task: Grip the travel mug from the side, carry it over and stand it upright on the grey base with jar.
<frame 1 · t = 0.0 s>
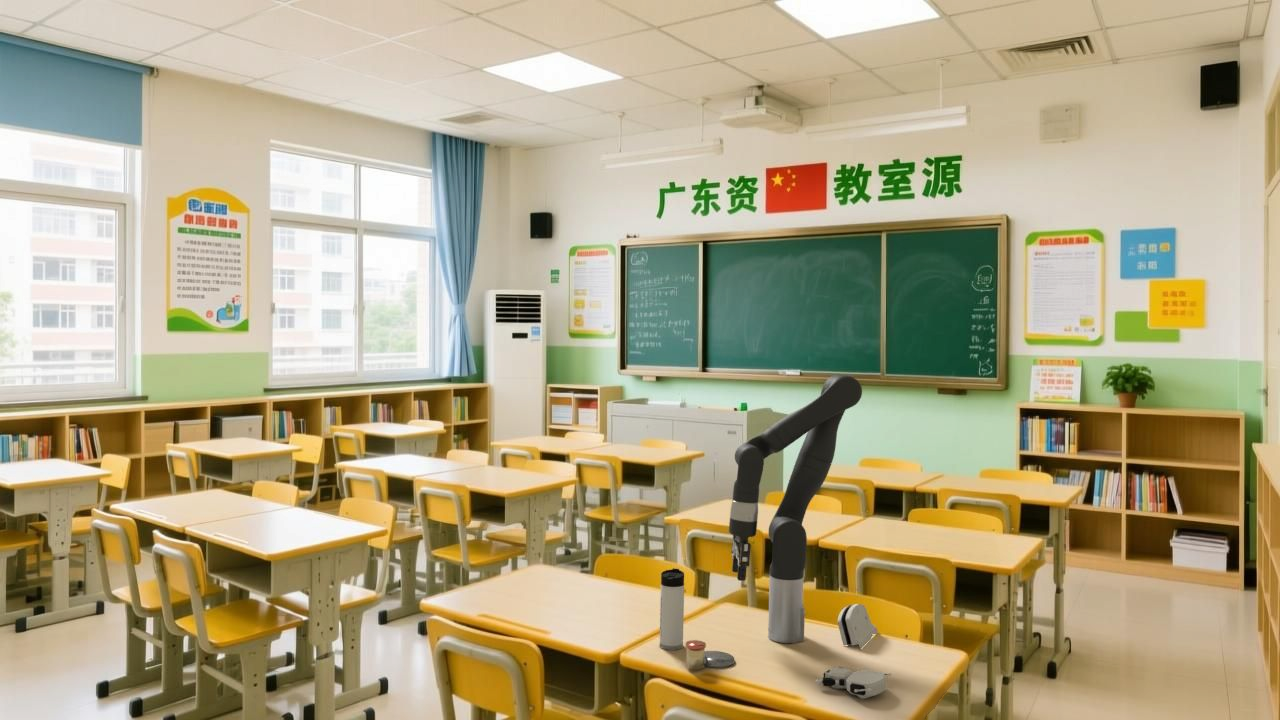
hand: (738, 576, 239), 17 cm above the table, tool pointing down, fingers open, 8 cm apart
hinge: (856, 639, 242), on the table
grey base with jar: (714, 660, 222), on the table
robot toy: (853, 692, 205), on the table
travel mug: (671, 646, 233), on the table
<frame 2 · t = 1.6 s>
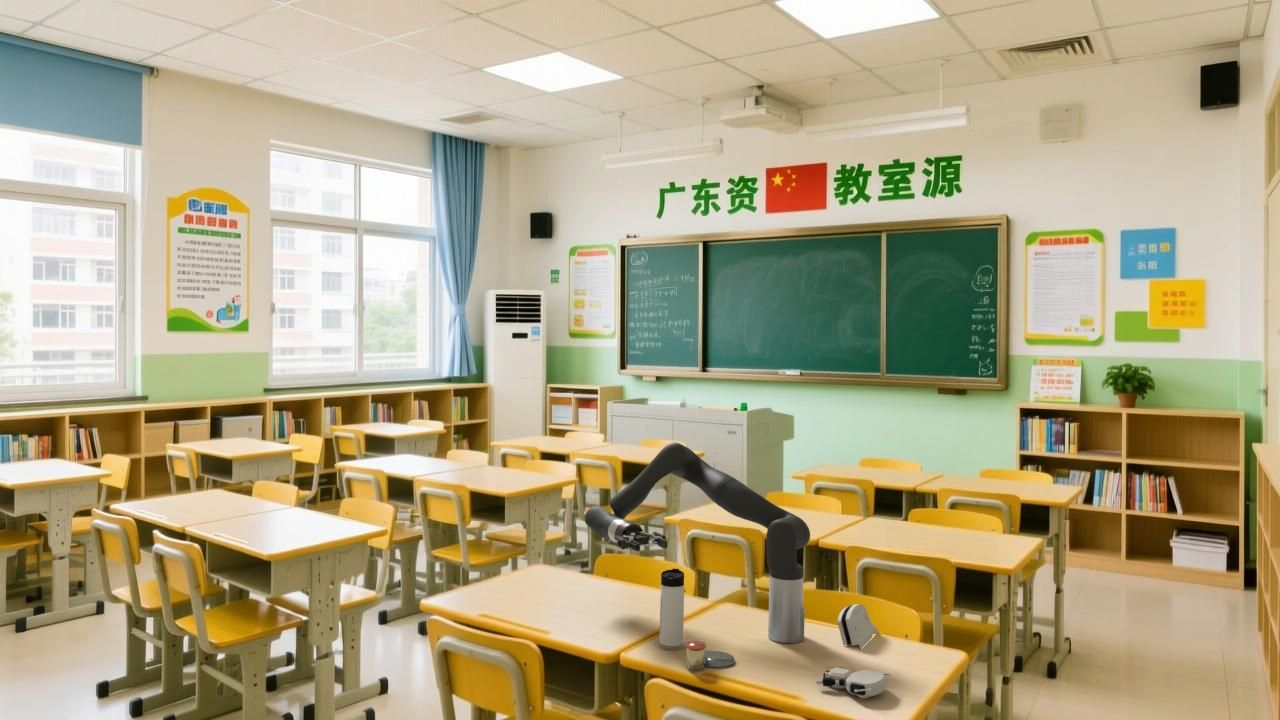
hand: (652, 546, 242), 24 cm above the table, tool horizontal, fingers open, 8 cm apart
nothing on the table moved.
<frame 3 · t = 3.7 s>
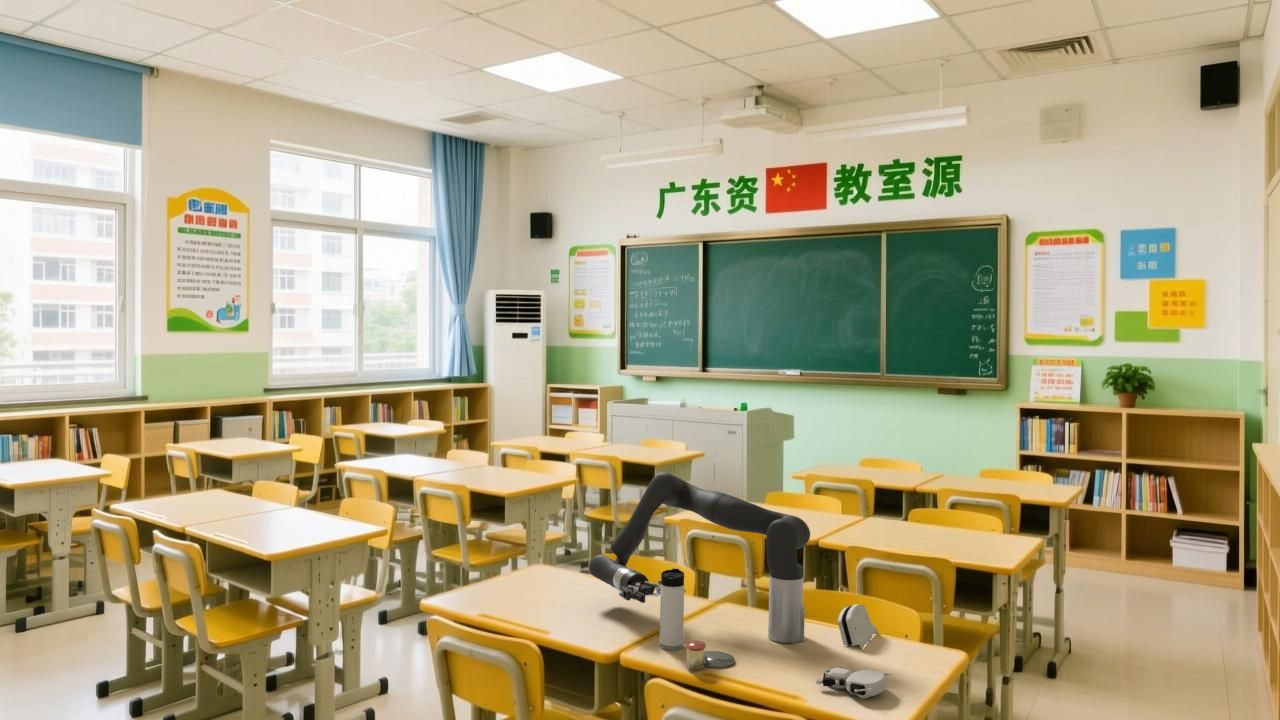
hand: (658, 597, 239), 11 cm above the table, tool horizontal, fingers open, 8 cm apart
nothing on the table moved.
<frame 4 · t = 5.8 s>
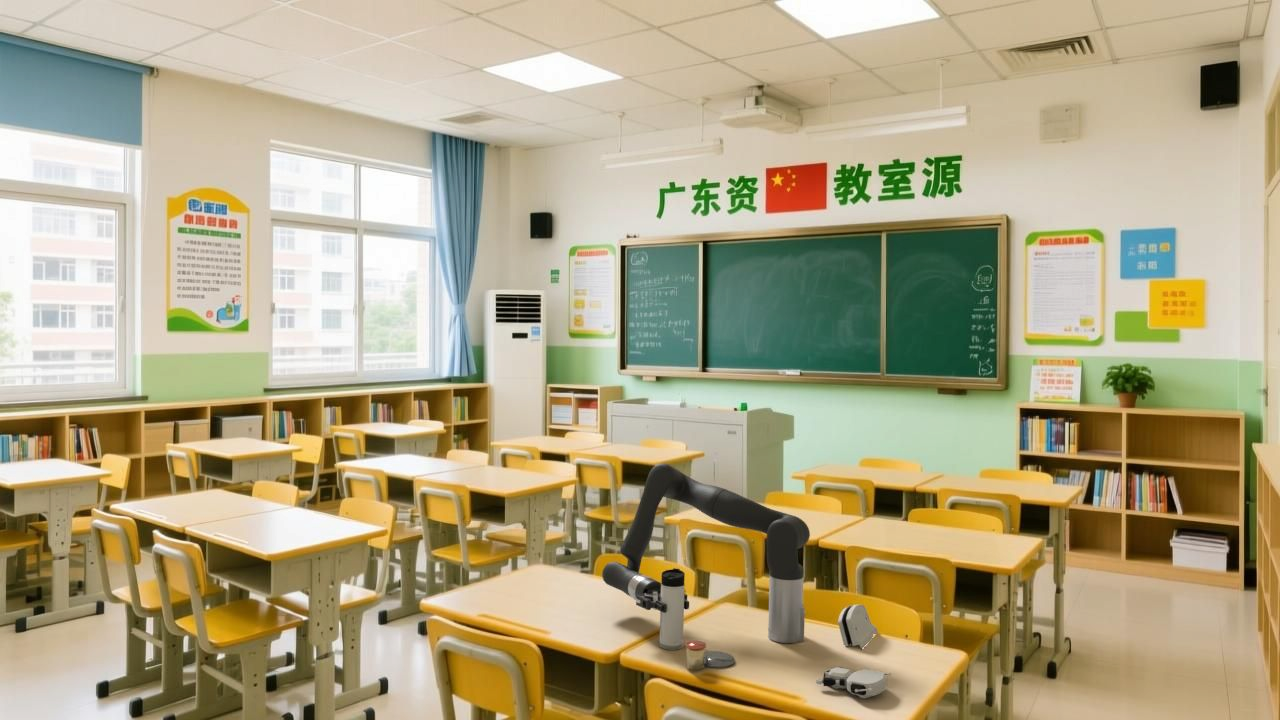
hand: (676, 607, 230), 11 cm above the table, tool horizontal, fingers closed on travel mug, 6 cm apart
travel mug: (671, 646, 233), on the table, touching gripper
everything else where it was.
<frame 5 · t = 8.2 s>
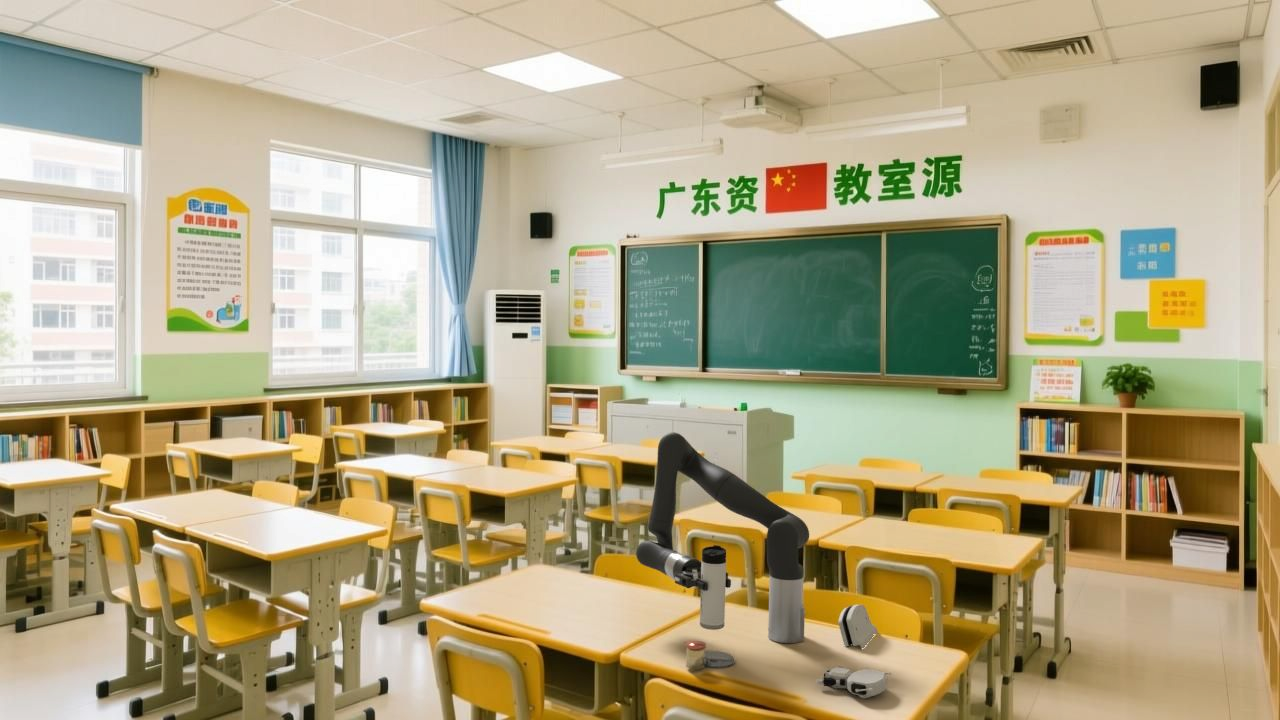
hand: (718, 585, 221), 20 cm above the table, tool horizontal, fingers closed on travel mug, 6 cm apart
travel mug: (712, 626, 223), point 9 cm above the table, touching gripper
everything else where it was.
when the fingers open (13 cm above the table, at t = 10.5 s): travel mug drops 1 cm, resting on grey base with jar.
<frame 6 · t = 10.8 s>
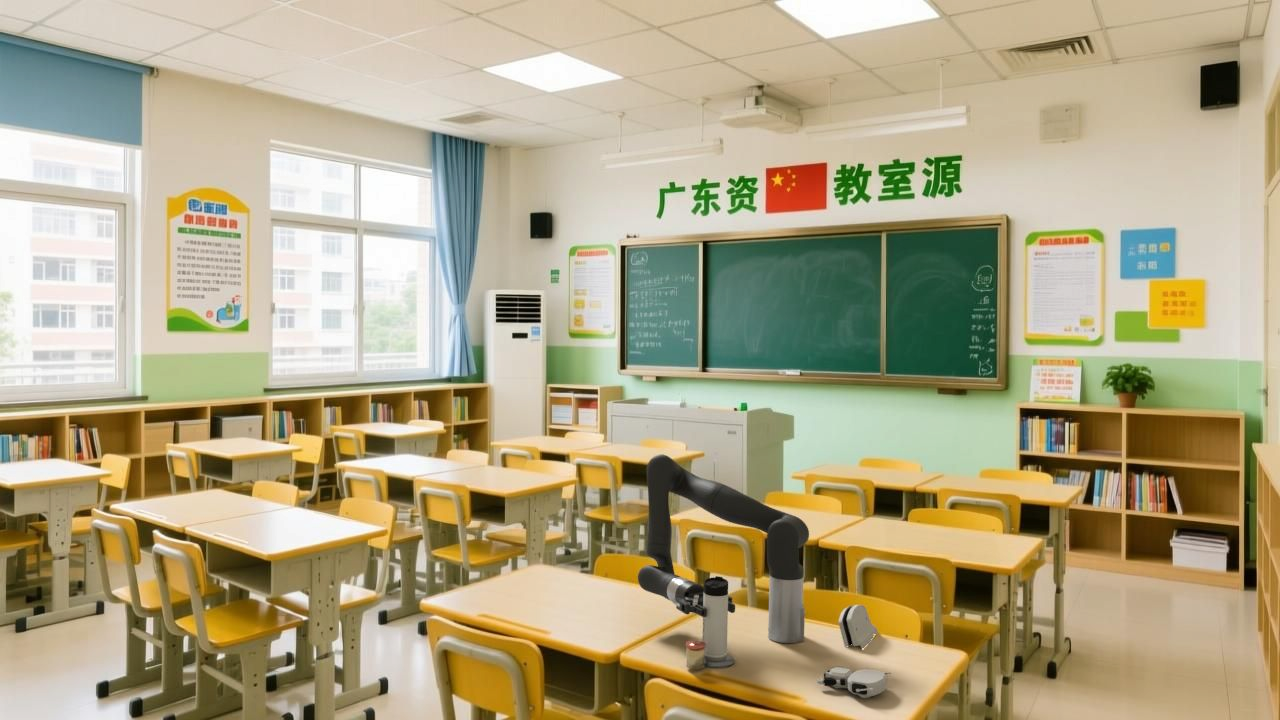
hand: (719, 611, 220), 13 cm above the table, tool horizontal, fingers open, 8 cm apart
travel mug: (714, 658, 222), point 1 cm above the table, touching grey base with jar
everything else where it was.
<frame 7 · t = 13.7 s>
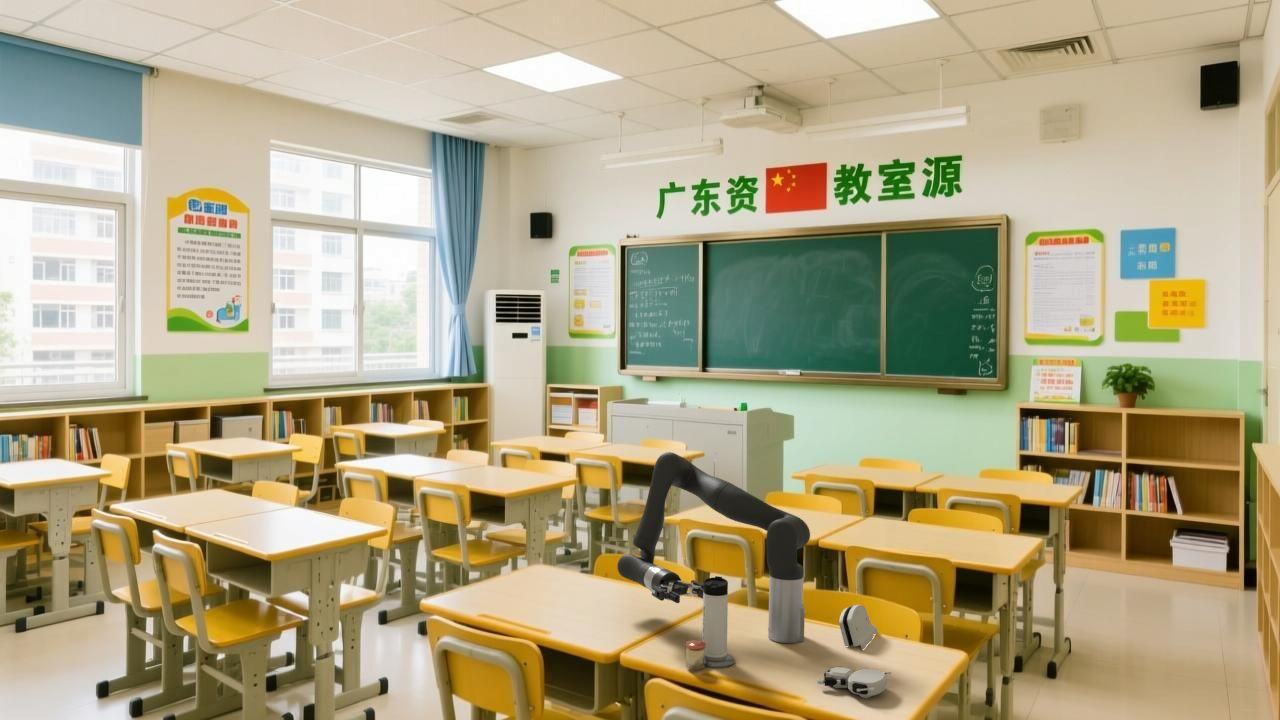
hand: (692, 597, 232), 13 cm above the table, tool horizontal, fingers open, 8 cm apart
nothing on the table moved.
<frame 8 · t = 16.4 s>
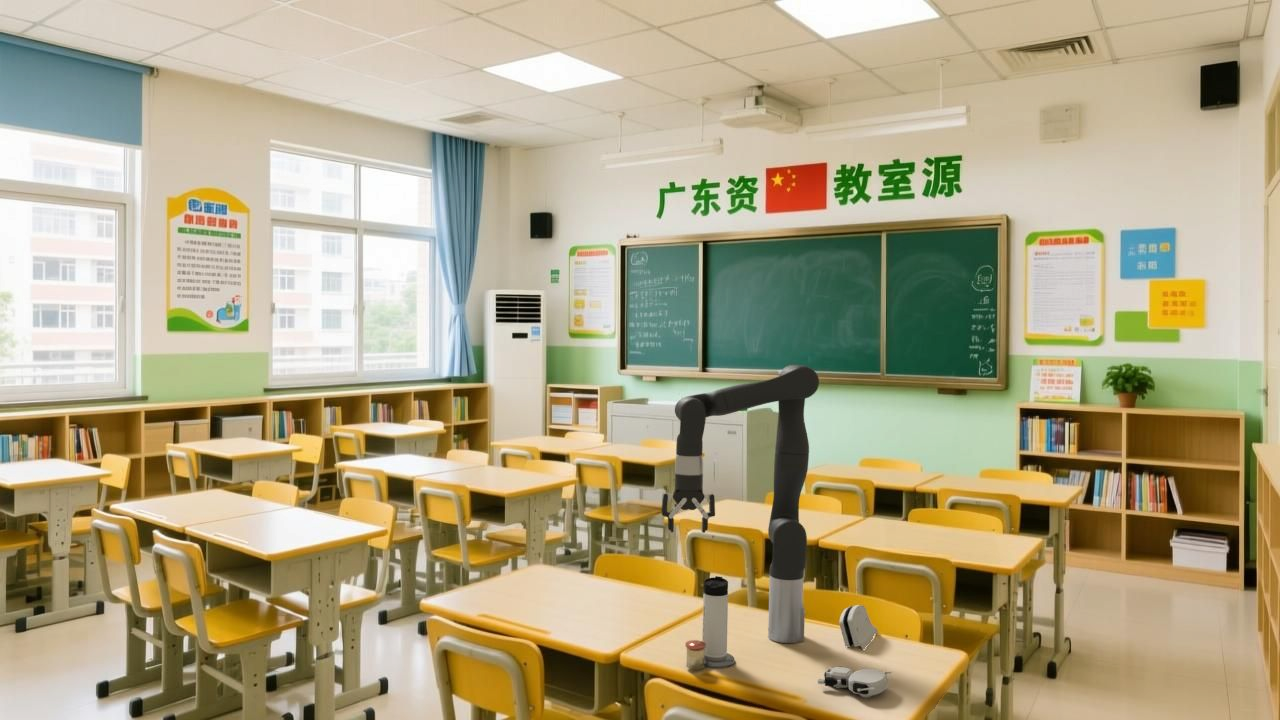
hand: (687, 531, 234), 30 cm above the table, tool pointing down, fingers open, 8 cm apart
at the end: travel mug 0.2 cm off-centre on the grey base with jar, point 0.6 cm above the grey base with jar's base; travel mug tilted 0°; the gripper is holding nothing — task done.
